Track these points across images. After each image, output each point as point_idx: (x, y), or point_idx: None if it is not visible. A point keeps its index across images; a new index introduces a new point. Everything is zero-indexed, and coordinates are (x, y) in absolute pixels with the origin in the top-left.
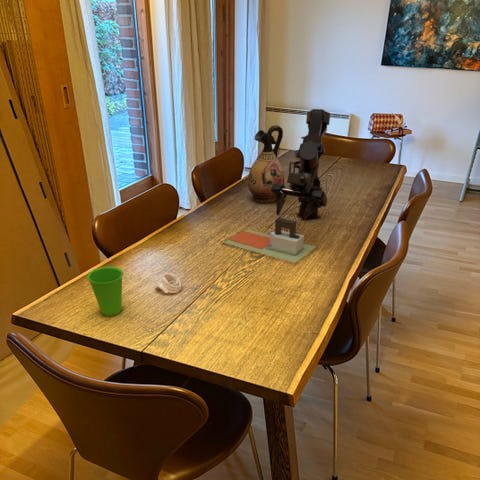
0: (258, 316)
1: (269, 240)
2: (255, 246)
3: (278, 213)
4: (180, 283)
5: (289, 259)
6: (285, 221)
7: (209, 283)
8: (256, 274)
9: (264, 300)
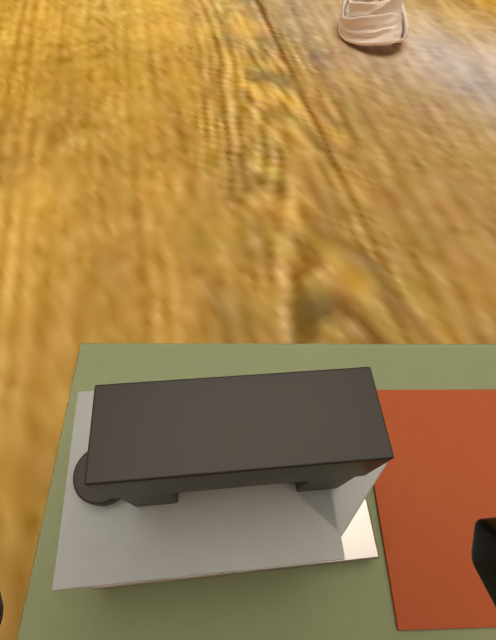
0: (70, 35)
1: (421, 560)
2: (411, 395)
3: (491, 562)
4: (365, 42)
5: (127, 362)
6: (225, 382)
7: (306, 85)
8: (207, 184)
9: (88, 83)
